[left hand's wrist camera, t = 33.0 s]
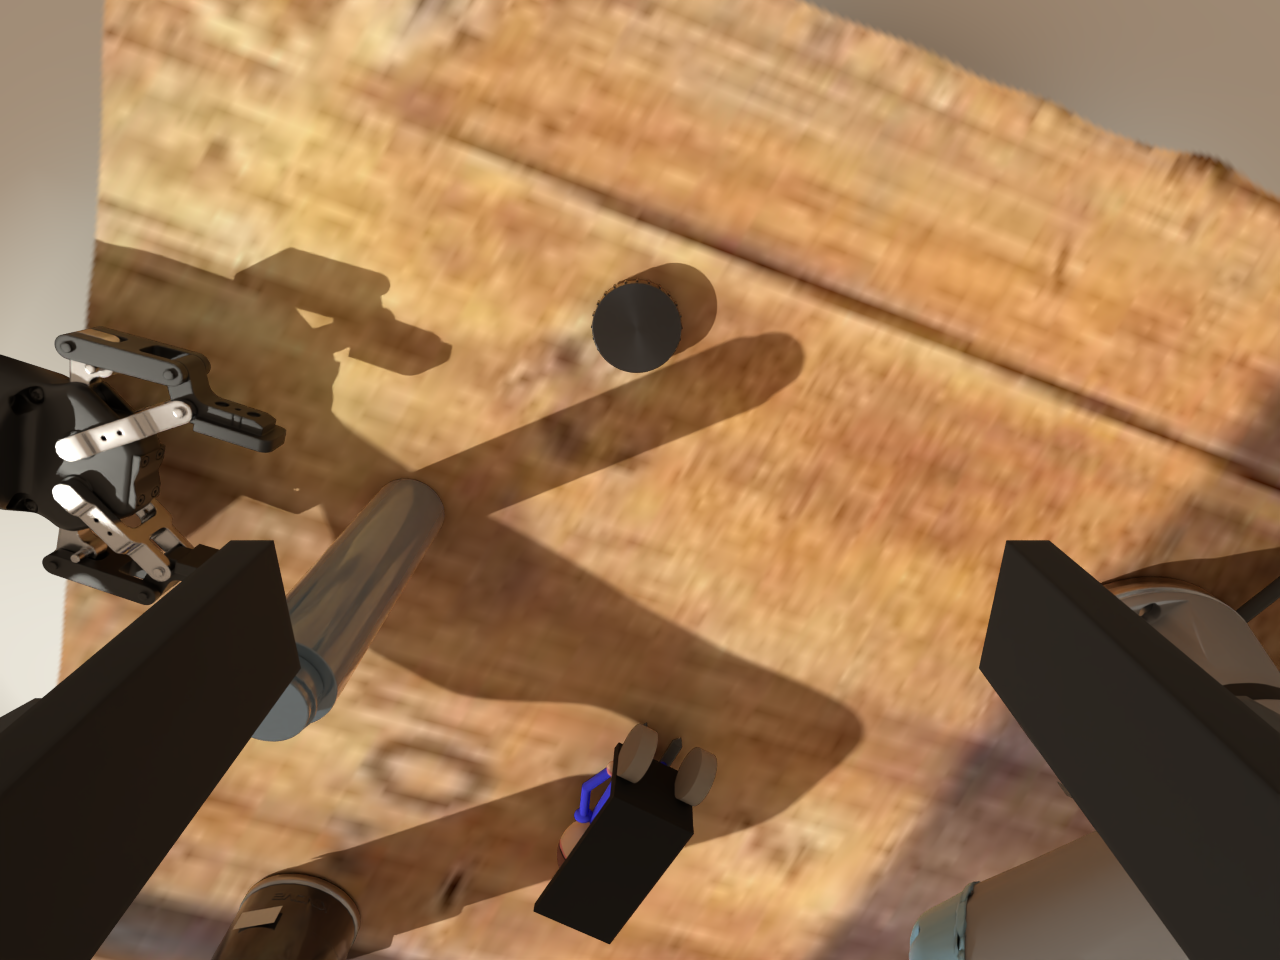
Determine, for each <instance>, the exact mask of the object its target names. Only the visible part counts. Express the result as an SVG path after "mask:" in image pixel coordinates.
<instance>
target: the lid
mask: <svg viewBox="0 0 1280 960" xmlns="http://www.w3.org/2000/svg"><path fill="white" fill-rule="evenodd" d="M597 305H598V306H597V308H596V311H594V313H593V315H592V316H594V317H593V322H592V325H591V328H592V333H593V340H594V342H595V345H596V347H597V350H598V351H599V352H600V354H601V355H602V357H603V358H604V359H605V360H606V361H607V362H608V363H610V364H611V365H613V366H614V367H616V368H618V369H620V370H623V371H626V372H632V373H642V372H648V371H651V370H654V369H656V368H658V367H660V366H661V365H663V364H664V363H665V362H666V361H668V360H669V358H670V357H671V356H672V355H673V353H674V352H675V351H676V348H677V346H678V344H679V341H680V340H681V338H680V337H681V329H682V324H681V319H680V317H681V314H680V312H678V309H677V303H676V301H675V302H674V301H673V299H672V297H671V295H670V293H669V292H668V293H667V292H666V291H665V290H664V289H663V288H661V285H660V284H659V285H656V284H655V283H652V282H650V280H648V281H645V280H638V278H636V280H629V281H627V279H626V280H625V281H624V282H622V283H619V284H617V285H616V284H614V286H613V287H612V288H611V289H610V290H609V291H605V293H604V296H603V297H602V299H601V300H600V301H599V300H598V302H597Z"/></svg>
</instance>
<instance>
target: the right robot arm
mask: <svg viewBox="0 0 1280 960" xmlns="http://www.w3.org/2000/svg"><path fill="white" fill-rule="evenodd" d="M55 348H56V350H57V352H58V353H59V354H60V355H61V356H62V357H64V358H66V359H69V360H70V378H69V377H67V376H65V375H63V374H60V373H57V372H54V371H50V370H47V369H44V368H41V367H38V366H35V365H32V364H29V363H26V362H22V361H19V360H16V359H13V358H10V357H7V356H3V355H0V509H2V510H13V511H26V512H34V513H37V514H40V515H42V516H43V517H45V518H47V519H48V520H49V521H51V522H52V523H53V524H54V525H56V526H57V527H59V535H58V542H57V548H56V550H55V551H54V552H52V553H51V554H49V555H47V556H46V557H44V559H43V561H42V564H43V566H44V568H45V569H46V570H47V571H48V572H49V573H51V574H54V575H57V576H60V577H63V578H66V579H69V580H71V581H74V582H77V583H80V584H83V585H86V586H89V587H92V588H95V589H98V590H101V591H104V592H107V593H110V594H113V595H116V596H119V597H122V598H125V599H128V600H131V601H134V602H137V603H140V604H143V605H150V604H152V603H154V602H155V601H156V600H157V599H158V598H159V597H160V596H161V595H163V594H164V593H165V592H166V591H168V590H169V589H170V588H171V587H173V586H174V585H176V584H177V583H178V582H179V581H183V580H184V579H185V578H186V577H188V576H189V575H190V574H191V573H192V572H194V571H195V570H196V569H197V568H198V567H200V566H201V565H202V564H203V563H204V562H206V561H207V560H208V559H209V558H210V557H212V556H213V555H214V554H215V553H216V552H218V551H219V550H218V549H215V548H212V547H208V546H205V545H202V544H199V545H198V546H196V547H195V548H194V547H193V546H192V545H191V544H190V543H189V542H188V541H187V540H186V539H185V537H184V536H183V535H182V534H181V533H180V532H179V531H178V530H177V529H176V528H175V527H174V526H173V525H172V516H171V514H170V513H169V512H168V511H167V510H166V509H165V508H164V507H163V506H162V505H161V504H160V503H159V502H158V501H157V500H156V498H155V497H157V496H159V492H160V484H161V483H160V477H159V471H158V469H159V466H160V464H161V462H162V460H163V458H164V451H165V445H164V444H160V442H159V439H158V437H157V435H156V433H159V432H162V431H165V430H168V429H171V428H174V427H177V426H180V425H183V424H186V423H188V422H189V423H193V424H194V427H193V431H195V432H198V433H201V434H204V435H208V436H211V437H214V438H217V439H220V440H223V441H226V442H230V443H233V444H236V445H239V446H242V447H245V448H248V449H252V450H255V451H258V452H264V453H268V452H272V451H273V450H275V449H276V448H278V447H279V446H281V445H282V444H284V440H285V435H286V430H285V429H284V428H283V427H280V426H277V425H275V423H276V419H275V418H273V417H272V416H271V415H269V414H268V413H266V412H263V411H260V410H255V409H254V408H250V407H247V406H244V405H241V404H238V403H235V402H232V401H229V400H226V399H223V398H220V397H218V396H217V395H216V394H215V393H213V391H212V390H211V388H210V386H209V383H208V378H207V374H208V373H209V371H210V368H211V365H210V362H209V360H208V359H207V357H205V356H204V355H203V354H200V353H197V352H193V351H189V350H186V349H182V348H178V347H175V346H171V345H168V344H164V343H160V342H157V341H153V340H149V339H146V338H142V337H138V336H135V335H131V334H127V333H124V332H120V331H116V330H113V329H109V328H105V327H94V328H90V329H85V330H81V331H77V332H72V333H68V334H63V335H60V336H58V337H57V338H56V340H55ZM118 373H121V374H125V375H129V376H133V377H136V378H140V379H144V380H147V381H151V382H155V383H159V384H162V385H166V386H168V390H169V394H170V398H171V399H170V400H167V401H164V402H161V403H158V404H155V405H152V406H149V407H146V408H143V409H140V410H137V411H134V410H133V409H132V408H131V407H130V406H129V405H128V404H127V403H126V401H125V400H124V399H123V398H122V397H121V396H120V395H119V394H118V393H117V392H116V391H115V390H114V389H113V388H112V387H111V386H110V385H108V384H107V383H106V382H104V381H102V378H105V377H109V376H112V375H115V374H118ZM135 513H136V515H137V516H138V517H139V518H140V519H141V525H140V526H138V527H136V528H131V527H128V526H126V525H125V524H124V523H123V522H122V521H121V520H120V519H123V518H126V517H129V516H131V515H133V514H135ZM90 528H91V529H92V530H93V531H94V532H95V533H96V534H97V535H98V536H99V537H98V536H96V535H95V534H94V533H93V532H92V531H91V529H90ZM150 538H151V539H152V540H154V541H155V542H156V543H157V544H158V545H159V546H160V547H161V548H162V549H163V550H164V551H165V552H166V553H164V554H163V553H162V552H161V551H160V550H159V549H158V548H157V547H156V546H155V545H154V544H153V543H152V542H151V541H150ZM133 576H135V577H133ZM136 577H138V578H136ZM139 578H141V579H139ZM142 579H143V580H142ZM359 927H360V915H359V911H358V909H357V907H356V905H355V903H354V902H353V901H352V899H351V898H350V897H349V896H348V895H347V894H346V893H345V892H344V891H342V890H341V889H340V888H338V887H337V886H335V885H333V884H331V883H329V882H327V881H325V880H322V879H320V878H316V877H313V876H308V875H302V874H281V875H275V876H271V877H268V878H266V879H263V880H261V881H260V882H258V883H257V884H255V885H254V886H253V887H252V888H251V889H250V890H249V891H248V893H247V894H246V896H245V898H244V900H243V901H242V903H241V905H240V908H239V911H238V913H237V915H236V917H235V918H234V920H233V922H232V924H231V925H230V927H229V929H228V931H227V932H226V934H225V936H224V938H223V939H222V941H221V943H220V944H219V946H218V948H217V950H216V951H215V953H214V955H213V957H212V959H211V960H346V958H347V955H348V953H349V950H350V948H351V946H352V944H353V943H354V941H355V938H356V936H357V933H358V930H359Z"/></svg>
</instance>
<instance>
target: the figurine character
mask: <svg viewBox="0 0 1280 960" xmlns="http://www.w3.org/2000/svg"><path fill="white" fill-rule="evenodd" d="M657 744H658V733H657V732H656V731H654V730H652V729H650V728H648V727H647V723H645V724H643V725H642V724H637V725H636V726H635V727H634V728H633V729H632V730H631V732H630V733H629V735H628V736H627V738H626V740H625V742H624V744H621V743H618V744H617V746H616V747H615V750H614V760H613V761H611V762H610V763H609V764H608V765H607V767H606V768H605V769H603V770H602V771H600V772H599V773H598V774H596V775H595V776H593V777H592V778H590V779H589V780H587V781H586V782H584V783H583V784H582V792H581V802H580V808H579V809H577V810H576V811H575V813H574V817H575V819H576V821H575V822H573V823H572V824H571V825H570V826H569V827H568V828H567V829H566V830H565V831H564V833H563V835H562V837H561V839H560V841H559V845H558V850H557V860H558V865H559V870H558V871H557V872H556V874H555V875H554V877H553V878H552V880H551V881H550V882H549V884H548V885H547V887H546V888H545V890H544V891H543V893H542V894H541V895H540V897H539V898H538V900H537V901H536V903H535V905H534V912H536V913H538V914H541V915H543V916H545V917H548V918H550V919H552V920H555V921H557V922H559V923H561V924H564V925H566V926H568V927H571V928H573V929H575V930H578V931H580V932H582V933H585V934H587V935H589V936H592V937H594V938H596V939H598V940H601V941H603V942H605V943H608V944H610V943H611V942H612V941H613V939H614V938H615V937H616V936H617V934H618V933H619V932H620V930H621V929H622V928H623V926H624V925H625V924H626V922H627V921H628V920H629V918H630V917H631V916H632V914H633V913H634V912H635V911H636V909H637V908H638V907H639V905H640V904H641V903H642V901H643V900H644V899H645V897H646V896H647V895H648V893H649V892H650V891H651V889H652V888H653V887H654V885H655V884H656V883H657V882H658V880H659V879H660V878H661V876H662V875H663V874H664V872H665V871H666V870H667V868H668V867H669V866H670V864H671V863H672V862H673V860H674V859H675V858H676V857H677V855H678V854H679V853H680V851H681V850H682V849H683V847H684V846H685V845H686V843H687V842H688V841H689V839H690V838H691V837H692V835H693V834H694V830H693V812H692V806H697V805H698V804H700V803H701V802H702V801H703V800H704V798H705V797H706V795H707V794H708V792H709V790H710V788H711V786H712V784H713V781H714V778H715V775H716V770H717V759H716V757H715V755H713V754H711V753H709V752H707V751H705V750H703V749H701V748H699V747H696V748H694V749H692V750H691V751H690V752H689V753H688V754H687V756H686V757H685V759H684V760H683V762H682V764H681V766H680V768H679V771H677V770H675V769H673V768H671V767H670V765H671V764H672V762H673V760H674V759H675V757H676V756H677V754H678V753H679V751H680V750H681V748H682V741H681V738H678V739H675V740H673V741H672V743H671V744H670V746H669V747H668V749H667V750H666V752H665V754H664V755H663V757H662V758H661V760H660V762H658V761H656V760H654V759H653V757H654V754H655V752H656V748H657ZM611 776H612V780H611V782H610V784H609V786H608V787H607V789H606V790H605V792H604V794H603V795H602V797H601V798H600V800H599V802H598V803H597V805H596V807H595V808H594V810H593V811H591V810H590V809H589V804H590V794H591V790H592V789H594V788H595V787H597V786H598V785H600V784H601V783H603V782H604V781H605V780H607V779H608V778H610V777H611Z"/></svg>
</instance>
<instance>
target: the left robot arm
mask: <svg viewBox="0 0 1280 960" xmlns="http://www.w3.org/2000/svg"><path fill="white" fill-rule="evenodd" d="M1278 598H1280V576H1279V577H1278V578H1277V579H1276V580H1274V581H1273V582H1272V583H1271V584H1269V585H1268V586H1267V587H1266V588H1264V589H1263V590H1262V591H1260V592H1259V593H1258V594H1257V595H1255V596H1254V597H1253V598H1252V599H1250V600H1249V601H1248V602H1246V603H1245V604H1244V605H1243V606H1241V607H1240V608H1239V609H1237V610H1236V611H1235V610H1233V609H1232V608H1231V607H1229V606H1228V605H1226V604H1225V603H1224V602H1222V601H1221V600H1219V599H1218V598H1216V597H1215V596H1213V595H1212V594H1211V593H1209V592H1207V591H1206V590H1204V589H1202V588H1201V587H1198V586H1196V585H1194V584H1192V583H1188V582H1185V581H1182V580H1177V579H1173V578H1165V577H1138V578H1131V579H1124V580H1120V581H1116V582H1112V583H1109V584H1105V585H1102V584H1101V583H1100V582H1098V581H1097V580H1096V579H1095V578H1094V577H1092V576H1091V575H1090V574H1089V573H1088V572H1086V571H1085V570H1084V569H1083V568H1082V567H1080V566H1079V565H1078V564H1077V563H1076V562H1074V561H1073V560H1072V559H1071V558H1070V557H1068V556H1067V555H1066V554H1065V553H1064V552H1062V551H1061V550H1060V549H1059V548H1058V547H1056V546H1055V545H1054V544H1053V543H1052V542H1050V541H1049V540H1006V545H1005V550H1004V554H1003V559H1002V563H1001V568H1000V573H999V577H998V582H997V587H996V591H995V596H994V601H993V605H992V610H991V615H990V619H989V624H988V628H987V633H986V638H985V642H984V647H983V652H982V656H981V661H980V666H979V669H980V670H981V672H982V673H983V674H984V676H985V677H986V679H987V680H988V681H989V683H990V684H991V686H992V687H993V688H994V690H995V691H996V692H997V694H998V695H999V697H1000V698H1001V699H1002V701H1003V702H1004V704H1005V705H1006V706H1007V708H1008V709H1009V710H1010V712H1011V713H1012V715H1013V716H1014V717H1015V719H1016V720H1017V722H1018V723H1019V725H1020V726H1021V728H1022V729H1023V731H1024V732H1025V733H1026V735H1027V736H1028V737H1029V739H1030V740H1031V742H1032V743H1033V744H1034V746H1035V747H1036V748H1037V750H1038V751H1039V752H1040V753H1041V755H1042V756H1043V758H1044V759H1045V760H1046V762H1047V763H1048V765H1049V766H1050V767H1051V769H1052V770H1053V771H1054V773H1055V774H1056V776H1057V777H1058V778H1059V780H1060V781H1061V783H1062V784H1061V783H1059V782H1058V784H1059V785H1060V787H1061V788H1062V789H1063V791H1064V792H1065V794H1066V795H1067V796H1069V797H1071V798H1073V799H1074V801H1075V802H1076V803H1077V805H1078V806H1079V808H1080V809H1081V810H1082V812H1083V813H1084V814H1085V816H1086V817H1087V819H1088V820H1089V821H1090V823H1091V824H1092V826H1093V827H1094V828H1095V830H1096V831H1094V832H1092V833H1090V834H1088V835H1085V836H1083V837H1081V838H1079V839H1077V840H1074V841H1072V842H1070V843H1068V844H1066V845H1064V846H1061V847H1059V848H1057V849H1055V850H1053V851H1051V852H1048V853H1046V854H1044V855H1042V856H1040V857H1037V858H1035V859H1033V860H1031V861H1028V862H1026V863H1024V864H1022V865H1019V866H1017V867H1015V868H1012V869H1010V870H1008V871H1005V872H1003V873H1001V874H998V875H996V876H994V877H991V878H989V879H987V880H984V881H982V882H980V881H978V882H972V883H969V884H968V885H967V886H966V887H965V888H964V889H963V891H962V892H961V893H959V894H957V895H955V896H954V897H952V898H950V899H948V900H946V901H944V902H942V903H940V904H938V905H937V906H935V907H933V908H931V909H929V910H927V911H926V912H924V913H923V914H922V915H921V916H920V917H919V918H918V920H917V921H916V923H915V925H914V927H913V930H912V935H911V937H910V953H909V960H1280V672H1279V671H1278V669H1277V668H1276V666H1275V665H1274V663H1273V662H1272V660H1271V659H1270V657H1269V656H1268V654H1267V653H1266V651H1265V650H1264V648H1263V647H1262V645H1261V644H1260V642H1259V641H1258V639H1257V638H1256V636H1255V635H1254V633H1253V632H1252V630H1251V629H1250V627H1249V626H1248V624H1247V622H1249V621H1250V620H1251V619H1253V618H1254V617H1255V616H1256V615H1258V614H1259V613H1260V612H1262V611H1263V610H1264V609H1265V608H1267V607H1268V606H1269V605H1271V604H1272V603H1273V602H1274V601H1276V600H1277V599H1278ZM300 669H301V666H300V661H299V656H298V652H297V647H296V642H295V638H294V633H293V628H292V624H291V619H290V615H289V610H288V605H287V601H286V596H285V591H284V587H283V582H282V577H281V573H280V568H279V563H278V559H277V554H276V550H275V545H274V540H231V541H230V542H228V543H227V544H226V545H225V546H224V547H222V548H221V549H220V550H219V551H218V552H216V553H215V554H214V555H213V556H212V557H210V558H209V559H208V560H207V561H206V562H204V563H203V564H202V565H201V566H200V567H198V568H197V569H196V570H195V571H194V572H192V573H191V574H190V575H189V576H188V577H186V578H185V579H184V580H183V581H182V582H180V583H179V584H178V585H177V586H176V587H175V588H173V589H172V590H171V591H170V592H169V593H167V594H166V595H165V596H164V597H163V598H161V599H160V600H159V601H158V602H157V603H155V604H154V605H153V606H152V607H151V608H149V609H148V610H147V611H146V612H145V613H143V614H142V615H141V616H140V617H139V618H137V619H136V620H135V621H134V622H133V623H131V624H130V625H129V626H128V627H127V628H125V629H124V630H123V631H122V632H121V633H119V634H118V635H117V636H116V637H115V638H113V639H112V640H111V641H110V642H109V643H108V644H106V645H105V646H104V647H103V648H102V649H100V650H99V651H98V652H97V653H96V654H94V655H93V656H92V657H91V658H90V659H88V660H87V661H86V662H85V663H84V664H82V665H81V666H80V667H79V668H78V669H76V670H75V671H74V672H73V673H72V674H70V675H69V676H68V677H67V678H66V679H64V680H63V681H62V682H61V683H60V684H58V685H57V686H56V687H55V688H54V689H52V690H51V691H50V692H49V693H48V694H47V695H45V696H44V697H43V698H35V699H33V700H31V701H29V702H27V703H26V704H24V705H22V706H20V707H18V708H16V709H15V710H13V711H11V712H9V713H7V714H6V715H4V716H2V717H0V960H91V959H92V957H93V956H94V954H95V953H96V952H97V950H98V949H99V947H100V946H101V945H102V943H103V942H104V941H105V939H106V938H107V936H108V935H109V934H110V932H111V931H112V929H113V928H114V927H115V925H116V924H117V923H118V921H119V920H120V918H121V917H122V916H123V914H124V913H125V911H126V910H127V909H128V907H129V906H130V905H131V903H132V902H133V900H134V899H135V898H136V896H137V895H138V893H139V892H140V891H141V889H142V888H143V886H144V885H145V884H146V882H147V881H148V880H149V878H150V877H151V875H152V874H153V873H154V871H155V870H156V868H157V867H158V866H159V864H160V863H161V862H162V860H163V859H164V857H165V856H166V855H167V853H168V852H169V850H170V849H171V848H172V846H173V845H174V844H175V842H176V841H177V839H178V838H179V837H180V835H181V834H182V832H183V831H184V830H185V828H186V827H187V826H188V824H189V823H190V821H191V820H192V819H193V817H194V816H195V814H196V813H197V812H198V810H199V809H200V807H201V806H202V805H203V803H204V802H205V801H206V799H207V798H208V796H209V795H210V794H211V792H212V791H213V789H214V788H215V787H216V785H217V784H218V783H219V781H220V780H221V778H222V777H223V776H224V774H225V773H226V771H227V770H228V769H229V767H230V766H231V765H232V763H233V762H234V760H235V759H236V758H237V756H238V755H239V753H240V752H241V751H242V749H243V748H244V747H245V745H246V744H247V742H248V741H249V740H250V738H251V737H252V735H253V734H254V733H255V731H256V730H257V729H258V727H259V726H260V724H261V723H262V722H263V720H264V719H265V717H266V716H267V715H268V713H269V712H270V710H271V709H272V708H273V706H274V705H275V704H276V702H277V701H278V699H279V698H280V697H281V695H282V694H283V692H284V691H285V690H286V688H287V687H288V686H289V684H290V683H291V681H292V680H293V679H294V677H295V676H296V674H297V673H298V672H299V670H300Z"/></svg>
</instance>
